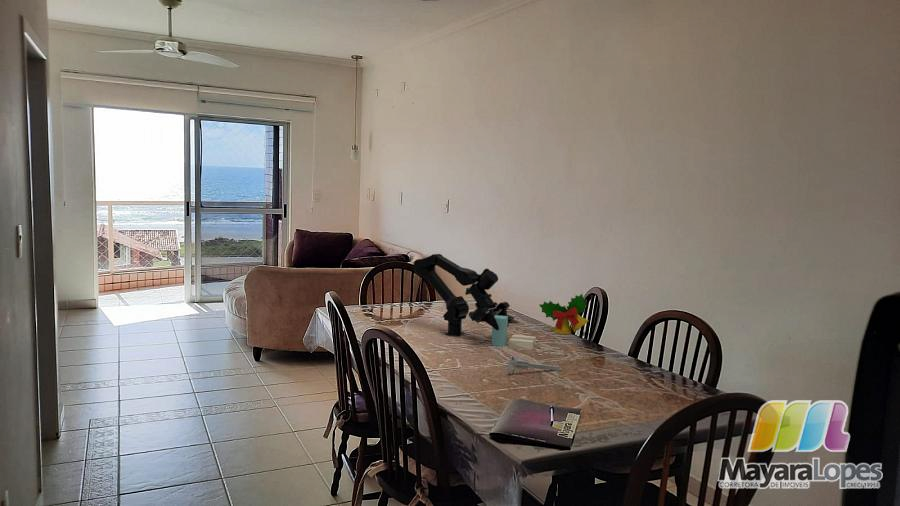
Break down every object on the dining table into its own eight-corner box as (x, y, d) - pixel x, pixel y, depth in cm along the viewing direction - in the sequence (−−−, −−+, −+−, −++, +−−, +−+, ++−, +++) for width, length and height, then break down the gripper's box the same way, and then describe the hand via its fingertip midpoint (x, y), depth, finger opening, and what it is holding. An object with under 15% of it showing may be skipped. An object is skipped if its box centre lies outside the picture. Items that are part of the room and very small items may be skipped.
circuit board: (471, 314, 306) (472, 307, 305) (497, 312, 312) (498, 306, 311) (496, 325, 283) (497, 318, 283) (524, 323, 289) (524, 316, 289)
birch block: (513, 343, 253) (513, 334, 253) (535, 345, 250) (535, 336, 250) (508, 348, 244) (509, 339, 244) (531, 351, 242) (532, 342, 241)
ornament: (545, 342, 274) (532, 310, 270) (549, 332, 281) (537, 302, 278) (592, 333, 264) (580, 300, 260) (596, 324, 271) (584, 291, 267)
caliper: (508, 375, 210) (509, 357, 209) (507, 374, 211) (508, 356, 210) (563, 370, 217) (564, 352, 217) (561, 369, 218) (562, 351, 218)
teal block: (494, 342, 252) (495, 315, 251) (506, 343, 251) (507, 316, 249) (491, 345, 247) (492, 317, 246) (504, 346, 246) (505, 318, 244)
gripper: (483, 305, 264) (503, 335, 259) (455, 312, 250) (476, 344, 244) (499, 289, 258) (520, 320, 253) (471, 295, 244) (494, 327, 238)
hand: (503, 328), depth 247 cm, fingers closed on teal block, 6 cm apart
